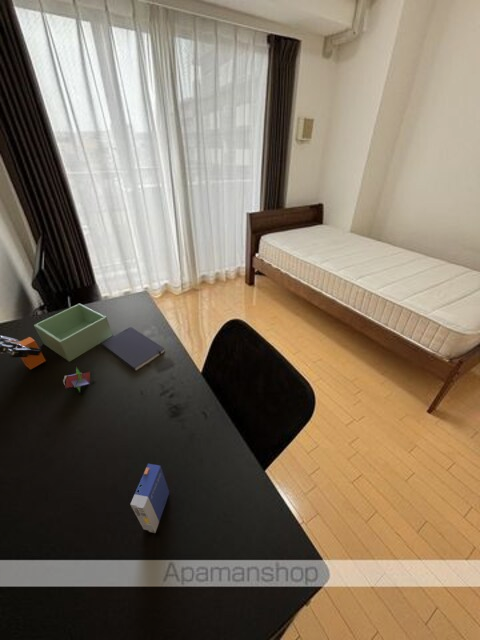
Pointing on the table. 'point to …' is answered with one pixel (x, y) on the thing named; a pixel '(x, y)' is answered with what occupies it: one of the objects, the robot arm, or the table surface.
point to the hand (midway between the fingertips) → (36, 349)
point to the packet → (31, 360)
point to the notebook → (133, 348)
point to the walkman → (150, 498)
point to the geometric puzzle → (77, 379)
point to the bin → (74, 331)
